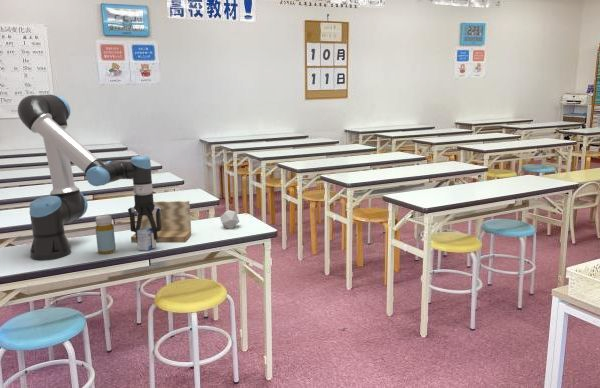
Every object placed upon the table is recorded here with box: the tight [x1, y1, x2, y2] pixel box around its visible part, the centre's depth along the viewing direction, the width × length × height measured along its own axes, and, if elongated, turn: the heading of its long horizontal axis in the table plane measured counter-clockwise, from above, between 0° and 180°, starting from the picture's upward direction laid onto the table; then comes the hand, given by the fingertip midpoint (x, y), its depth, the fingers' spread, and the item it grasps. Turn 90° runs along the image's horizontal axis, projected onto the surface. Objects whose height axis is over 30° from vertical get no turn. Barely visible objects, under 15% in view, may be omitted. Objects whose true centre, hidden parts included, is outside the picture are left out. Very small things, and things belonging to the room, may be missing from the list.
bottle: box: [95, 214, 117, 255], centre depth 211 cm, size 7×7×15 cm
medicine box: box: [137, 226, 153, 251], centre depth 215 cm, size 8×4×9 cm, turn 169°
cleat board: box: [130, 200, 192, 244], centre depth 228 cm, size 24×12×16 cm, turn 89°
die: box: [219, 209, 240, 230], centre depth 246 cm, size 8×9×10 cm
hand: (147, 246), depth 216 cm, fingers closed on medicine box, 5 cm apart
